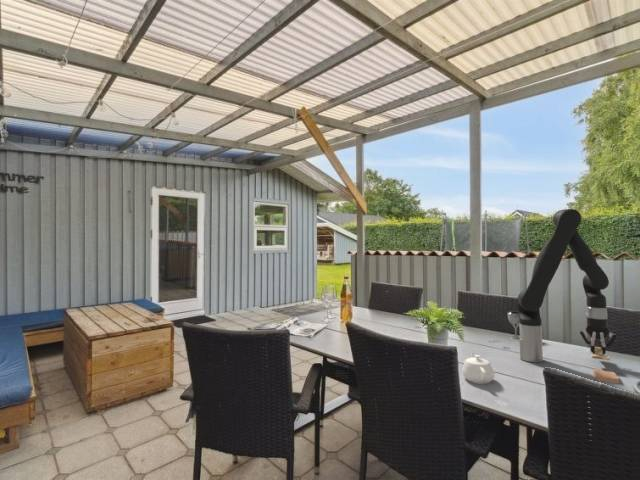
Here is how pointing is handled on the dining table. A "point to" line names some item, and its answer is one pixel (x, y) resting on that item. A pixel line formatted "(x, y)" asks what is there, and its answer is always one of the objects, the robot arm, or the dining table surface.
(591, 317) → the robot arm
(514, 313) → the wine glass
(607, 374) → the tile
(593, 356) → the turner
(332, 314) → the dining table surface
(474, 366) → the teapot
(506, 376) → the dining table surface
